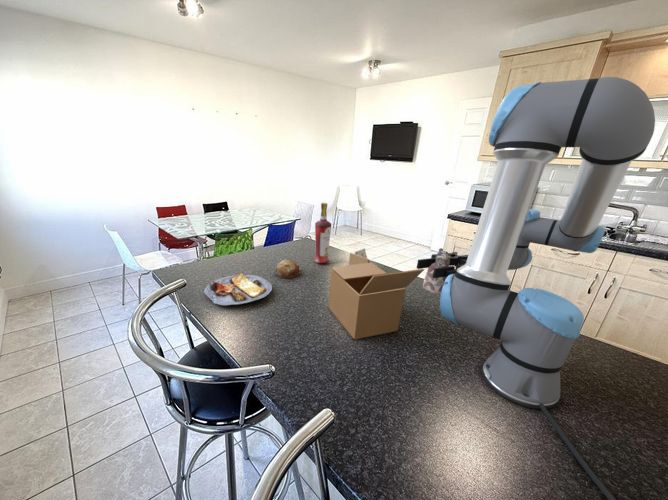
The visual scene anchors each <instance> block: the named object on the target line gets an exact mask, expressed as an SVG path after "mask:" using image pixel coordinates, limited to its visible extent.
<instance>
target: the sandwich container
mask: <svg viewBox="0 0 668 500" xmlns="http://www.w3.org/2000/svg"><path fill="white" fill-rule="evenodd" d="M362 263H372V262H371V261H370V259H369V258H368V257H367V258H365V257H362V256H360V255H356V254H355V253H353V252H350V253H349V260H348V265H354V264H362Z"/></svg>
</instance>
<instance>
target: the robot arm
mask: <svg viewBox="0 0 668 500" xmlns="http://www.w3.org/2000/svg"><path fill="white" fill-rule="evenodd" d="M655 127H656V116H655V109H654V106H653V104H652V101H651V99H650V98H649V96H648V95H647V93H646V92H645V91H644V89H642V88H641V87H640V86H639V85H637V84H636V83H634V82H632V81H630V80H628V79H625V78H623V77H617V76H603V77H601V76H600V77H599V78H597V77H595V78H583V79H574V80H573V79H571V80H559V81H546V82H541V81H539V82H537V81H536V82H535V83H530V84H523V85H518V86H516V87H514V88H512V89H511V90H510V91H509V92H508V93H507V94H506V95H505V96H504V98H503V99H502V101H501V102H500V104H499V106H498V108H497V110H496V112H495V114H494V117H493V119H492V123H491V125H490V132H489V134H488V145H490V146H491V147H492V148H493V147H494V148H493V152H492V155H493V156H494V158H495V160H496V161H497V163H496V167H495V170H494V173H493V177H492V180H491V183H490V186H489V190H488V192H487V195H486V198H485V202H484V205H483V208H482V210H481V214H480V217H479V221H478V224H477V227H476V230H475V233H474V236H473V240H472V243H471V246H470V249H469V253H468V254H463V255H460V254H459V253H458V252H457V251H453V252H448V253H449V255H450V256H451V258H450V263H449V266H448V267H441V268H434V272H433V278H440V277H447V276H448V277H447V278H446V280H445V283H444V285H443V288H442V291H441V294H440V297H439V310H440V314H441V316H442V317H443V318H444V319H445V320H447V321H450V322H452V323H454V324H456V325H458V326H462V327H464V328H467V329H469V330H473V331H475V332H478V333H480V334H482V335H486V336H488V337H491V338H494V339H497V340H499V341H501V342H500V345H499V347H498V348H496V350H495V351H494V352H492V354H491V355H490V356H489V357H488V358H487V359H486V360H485V361H484V363H483V365H482V368H481V376H482V378H483V381H484V382H485V383H486V385H487V386H488V387H489V388H490V389H491V390H493V391H494V392H495V393H496V394H498V395H499V396H500V397H502V398H504V399H505V400H507V401H509V402H511V403H514V404H516V405H518V406H521V407H524V408H528V409H533V410H540V411H542V413H543V414H544V415H545V417H546V418H547V420H548V421H549V422H550V424H551V425H552V427H553V428H554V429H555V431H556V432H557V434H558V435H559V437H560V438H561V440H562V442H564V444H565V446H566V447H567V448H568V450H569V451H570V452H571V454H572V455H573V456H574V458H575V459H576V461H577V462H578V464H580V466H581V467H582V469H583V471H585V472H586V474H587V475H588V476H589V478H590V479H591V480H592V481H593V483H594V484H595V485H596V487H597V488H598V489H599V490H600V491H601V493H602V494H603V495H604V496H605V497H606V498H607V500H617V499H616V497H615V496H614V495H613V494H612V493H611V492H610V490H609V489H608V488H607V487H606V486H605V484H604V483H603V481H601V480H600V479H599V477H598V476H597V475H596V473H595V472H594V470H592V469H591V467H590V465H589V464H588V463H587V462H586V460H585V459H584V458H583V457H582V455H581V454H580V453H579V451H578V449H577V448H576V447H575V446H574V445H573V443H572V442H571V440H570V439H569V438H568V436H567V435H566V434H565V432H564V431H563V429H562V428H561V427H560V425H559V424H558V422H557V421H556V420H555V418H554V416H553V415H552V414H551V412H550V411H549V410H548V409H552V408H554V407H555V406H556V405H557V404H558V402H559V400H560V398H561V391H562V390H561V370H562V368H563V366H564V365H565V362H566V361H567V358H568V357H569V354H570V352H571V350H572V348H573V345H574V343H575V341H576V339H578V338H579V337H580V335H581V330H582V326H583V325H584V323H585V316H584V314H583V313H584V312H583V311H582V310H581V309H580V308H579V307H578V306H577V305H575V304H574V303H573V302H571V301H570V300H569V299H567V298H565V297H564V296H561V295H558V294H557V293H554V292H551V291H549V290H544V289H541V288H533V287H524V288H522V289H520V290H519V291H518V292H517V291H513V290H510V287H511V285H512V281H511V280H510V278H509V277H508V274H507V273H508V271H515V270H518V269H523V268H525V267H528V266H529V265H530V264H531V262H532V261H533V254H532V253H533V252H532V250H531V248H529V247H530V244H537V245H542V246H547V247H551V248H556V249H557V248H558V249H562V250H568V251H571V252H576V253H577V252H578V253H586V254H587V253H588V254H593V253H596V251H597V250H598V248H599V246H600V244H601V242H602V240H603V238H604V235H605V232H606V229H605V228H604V227H603V226H600V225H599V224H600V223H601V221H602V220H603V218H604V215H605V213H606V211H608V208H609V206H610V204H611V202H612V200H613V198H614V196H615V195H616V193H617V191H618V189H619V188H620V187H619V186H620V184H621V183H622V181H623V179H624V177H625V175H626V173H627V171H628V170H629V167H630V166H631V164H632V163H633V161H635V160H637V159H639V158H640V157H641V156H642V155H643V154H644V153H645V151H646V150H647V148H648V146H649V144H650V142H651V140H652V138H653V135H654V134H655V133H654V132H655V129H656V128H655ZM562 148H579V149H578V154H579V157H580V158H581V161H580V164H579V167H578V170H577V173H576V175H575V178H574V181H573V184H572V187H571V189H570V193H569V196H568V199H567V200H566V204H565V206H564V210H563V213H562V216H561V218H560V220H559V219H551V218H546V217H541V211H540V210H538V209H534V208H531V206H532V203H533V201H534V199H535V196H536V192H537V190H538V188H539V185H540V182H541V179H542V176H543V173H544V171H545V167H546V166H547V165H548V164H549V163H551V162H552V161H554V160H556V159H557V158H558V157H559V155H560V152H561V149H562ZM458 254H459V255H458ZM436 255H437V253H435V254H434V253H433V254H431V256H430V258H421V259H417V263H416V270H418V269H428V268H429V267H430V266H431V265H432V264H433V263H435V262H436Z"/></svg>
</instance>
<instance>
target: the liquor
mask: <svg viewBox="0 0 668 500" xmlns="http://www.w3.org/2000/svg"><path fill="white" fill-rule="evenodd" d="M320 209H321V210H320V219H319V220H317V221H316V222H315V223H314V236H315V237H314V239H315V240H314V241H315V245H314V246H315V251H314V252H315V253H314V254H315V255H314V259H313V260H314V262H315V263H316V264H317V265H325V264H327V263H329V250H330V240H331V234H332V223H331V222H330V221H329V220H328V216H327V214H328V213H327V209H328V203H327V202H321V203H320Z"/></svg>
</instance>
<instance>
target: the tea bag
mask: <svg viewBox="0 0 668 500" xmlns="http://www.w3.org/2000/svg"><path fill="white" fill-rule="evenodd" d="M354 254H356V255H360V256H362V257H365V258H367V259H368V256H367V252H366V248H361V249H359V250H356V251H355V252H354Z"/></svg>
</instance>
